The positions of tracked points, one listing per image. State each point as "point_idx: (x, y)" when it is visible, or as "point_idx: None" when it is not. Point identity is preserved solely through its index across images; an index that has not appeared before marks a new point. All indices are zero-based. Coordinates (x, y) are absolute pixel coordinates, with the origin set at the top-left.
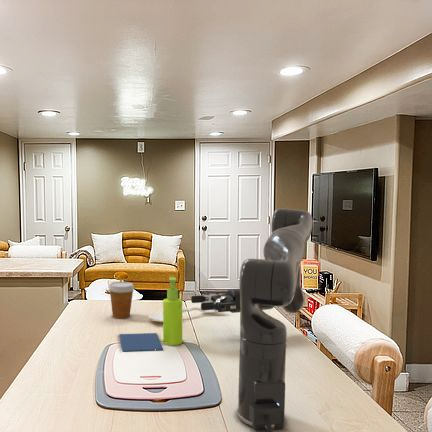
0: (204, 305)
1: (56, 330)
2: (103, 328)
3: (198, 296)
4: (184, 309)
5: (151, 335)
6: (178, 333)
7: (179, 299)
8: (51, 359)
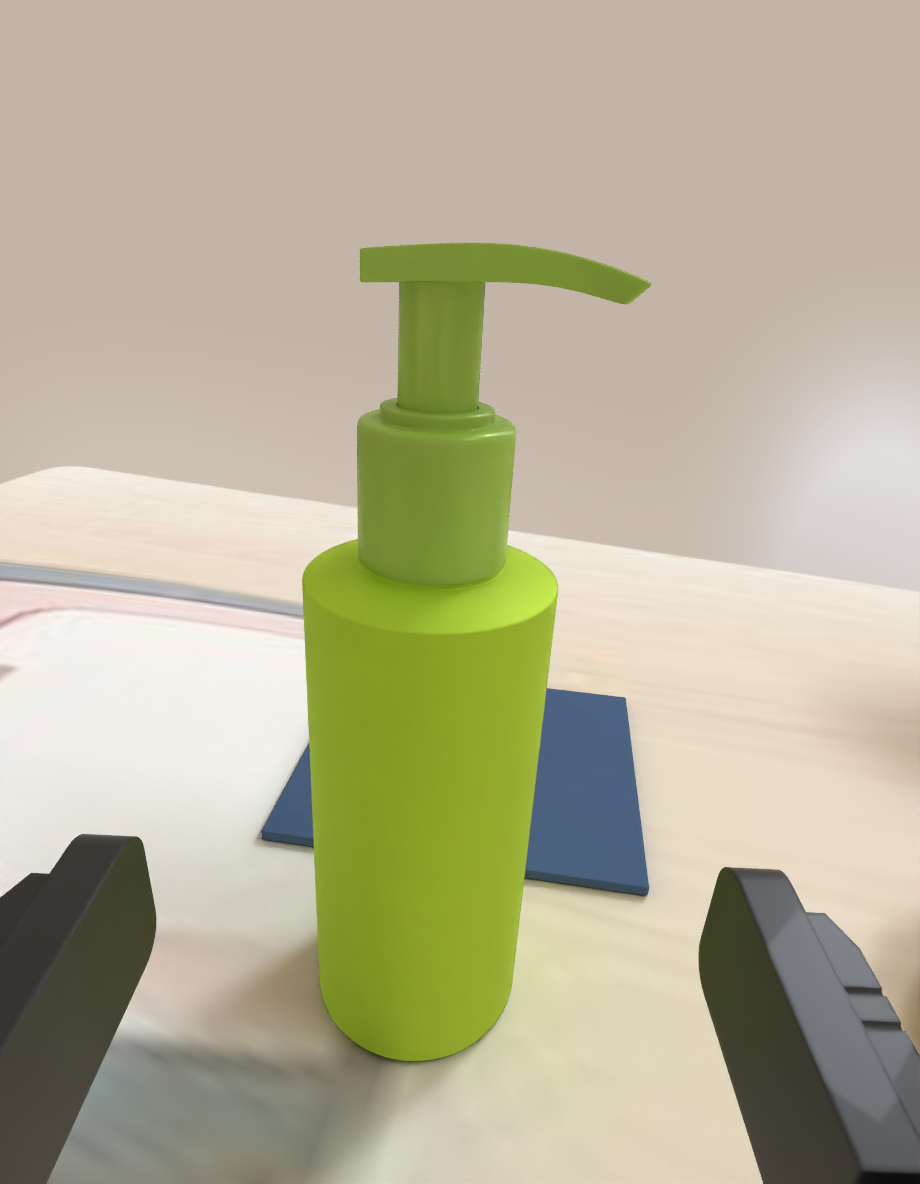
0: (26, 885)
1: (698, 562)
2: (755, 671)
3: (785, 1015)
4: None
5: (584, 839)
6: (316, 902)
7: (401, 600)
8: None
